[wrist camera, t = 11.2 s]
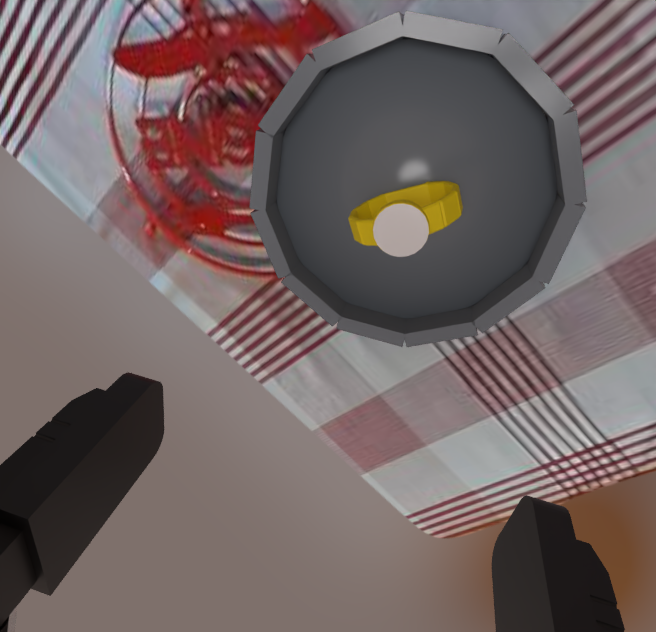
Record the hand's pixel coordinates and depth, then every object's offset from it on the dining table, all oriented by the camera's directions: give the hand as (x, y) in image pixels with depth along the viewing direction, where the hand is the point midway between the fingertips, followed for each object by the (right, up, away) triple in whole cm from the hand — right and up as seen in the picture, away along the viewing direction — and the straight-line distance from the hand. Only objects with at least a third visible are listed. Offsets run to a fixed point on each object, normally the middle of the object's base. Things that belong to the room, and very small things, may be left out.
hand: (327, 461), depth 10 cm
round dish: (+5, +10, +18) cm, 21 cm away
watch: (+5, +10, +18) cm, 21 cm away
